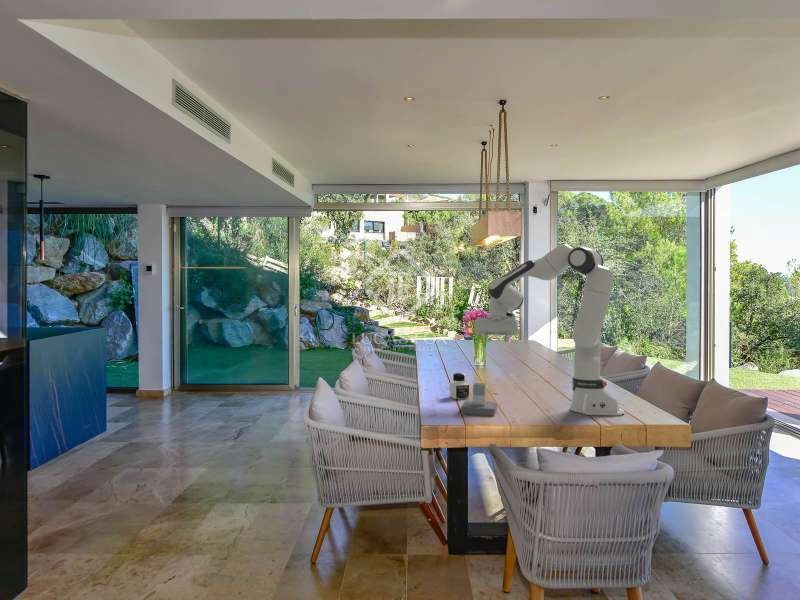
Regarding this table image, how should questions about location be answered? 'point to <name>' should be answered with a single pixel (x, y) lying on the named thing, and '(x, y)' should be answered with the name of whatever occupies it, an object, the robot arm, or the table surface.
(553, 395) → the table surface
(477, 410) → the charcoal stand
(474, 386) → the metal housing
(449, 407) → the table surface
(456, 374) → the medicine bottle
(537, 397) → the table surface
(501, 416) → the table surface
